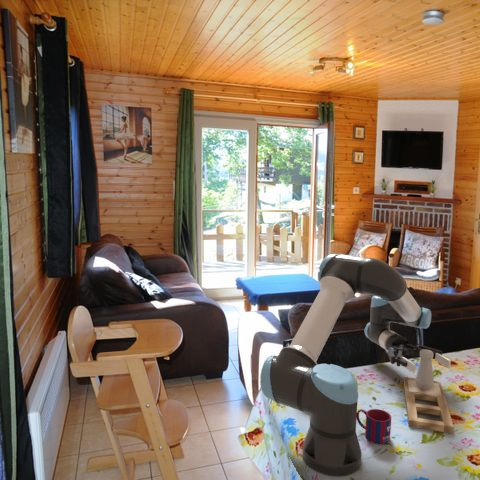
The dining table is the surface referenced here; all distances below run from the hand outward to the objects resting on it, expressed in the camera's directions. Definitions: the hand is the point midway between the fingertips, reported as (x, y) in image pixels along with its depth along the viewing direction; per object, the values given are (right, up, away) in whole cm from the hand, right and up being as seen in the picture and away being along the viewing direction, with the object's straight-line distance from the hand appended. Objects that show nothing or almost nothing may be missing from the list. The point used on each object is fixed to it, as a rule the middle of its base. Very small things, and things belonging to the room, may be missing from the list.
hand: (432, 366), depth 146 cm
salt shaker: (-1, -8, +4) cm, 10 cm away
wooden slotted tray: (-4, -12, -4) cm, 13 cm away
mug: (-26, -14, -20) cm, 35 cm away
